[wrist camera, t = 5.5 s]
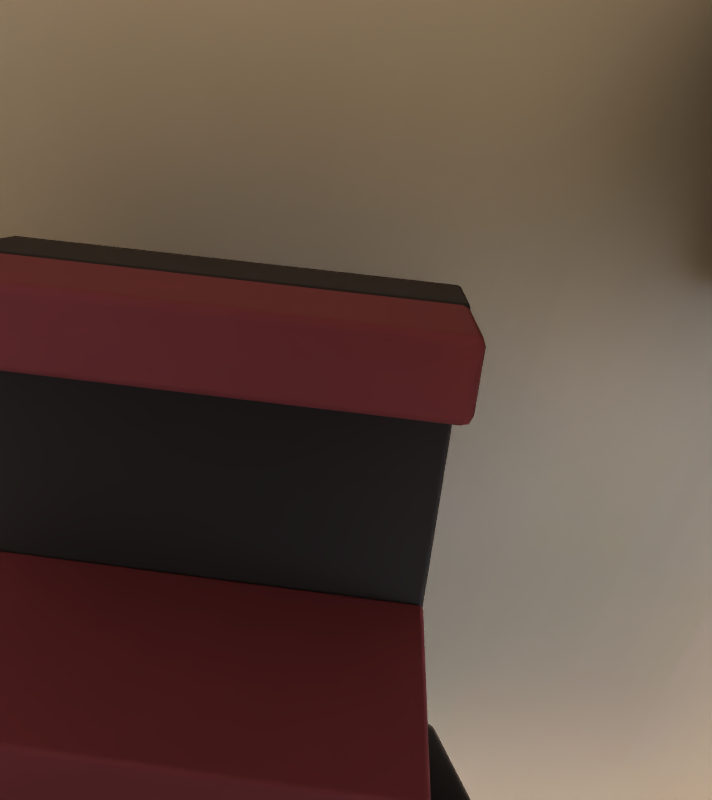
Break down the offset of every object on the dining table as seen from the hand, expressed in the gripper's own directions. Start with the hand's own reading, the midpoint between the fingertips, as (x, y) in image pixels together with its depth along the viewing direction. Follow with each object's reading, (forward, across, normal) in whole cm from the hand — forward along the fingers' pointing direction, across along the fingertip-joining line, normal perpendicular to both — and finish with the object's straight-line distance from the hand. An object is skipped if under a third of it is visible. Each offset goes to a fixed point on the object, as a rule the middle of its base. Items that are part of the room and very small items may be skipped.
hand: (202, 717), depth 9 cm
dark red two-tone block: (+1, 0, 0) cm, 1 cm away
